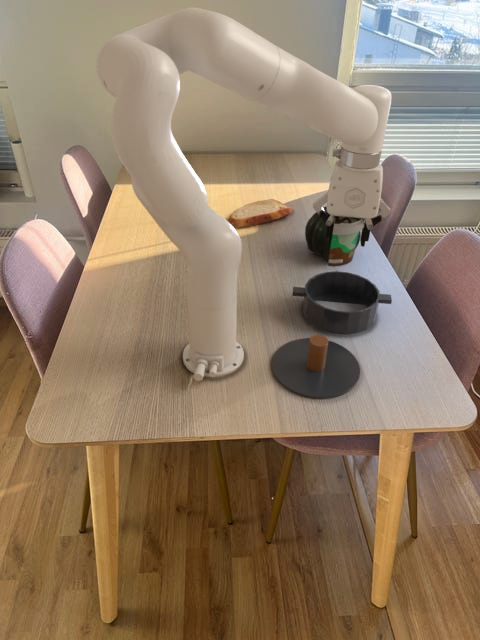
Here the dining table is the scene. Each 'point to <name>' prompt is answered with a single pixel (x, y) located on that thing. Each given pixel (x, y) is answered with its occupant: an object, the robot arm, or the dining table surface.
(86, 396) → the dining table surface
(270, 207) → the bread slice
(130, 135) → the robot arm
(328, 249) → the squash
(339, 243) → the food container
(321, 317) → the pot
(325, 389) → the lid
